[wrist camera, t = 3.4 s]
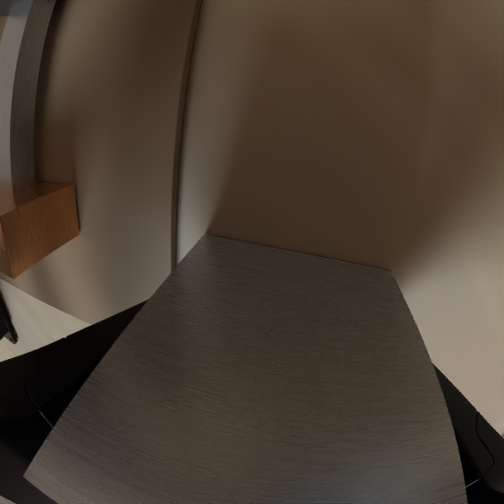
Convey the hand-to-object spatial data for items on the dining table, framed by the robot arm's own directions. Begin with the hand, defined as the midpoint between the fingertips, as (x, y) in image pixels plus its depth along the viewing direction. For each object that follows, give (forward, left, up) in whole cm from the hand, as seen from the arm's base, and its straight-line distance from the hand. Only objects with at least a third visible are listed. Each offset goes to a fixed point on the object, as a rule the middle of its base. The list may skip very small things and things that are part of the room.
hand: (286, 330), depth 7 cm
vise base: (-11, +12, -2) cm, 16 cm away
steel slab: (0, 0, -2) cm, 2 cm away
